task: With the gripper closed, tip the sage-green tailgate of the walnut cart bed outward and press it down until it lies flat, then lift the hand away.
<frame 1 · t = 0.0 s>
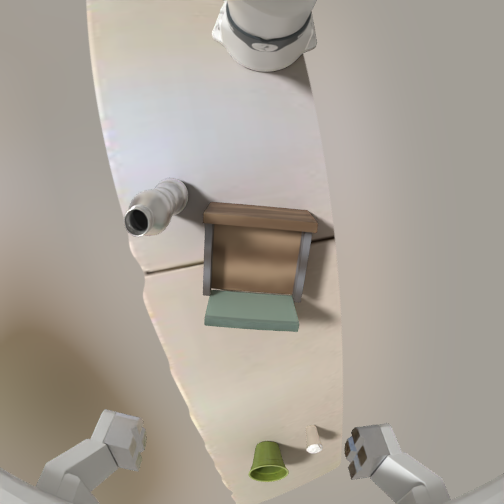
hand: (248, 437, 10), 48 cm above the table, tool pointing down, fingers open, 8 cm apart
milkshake: (311, 426, 78), on the table
cart bed: (255, 247, 58), on the table
plastic bottle: (174, 194, 54), on the table
plant pot: (267, 445, 82), on the table
tailgate: (251, 309, 54), point 8 cm above the table, hinge at 0.0°
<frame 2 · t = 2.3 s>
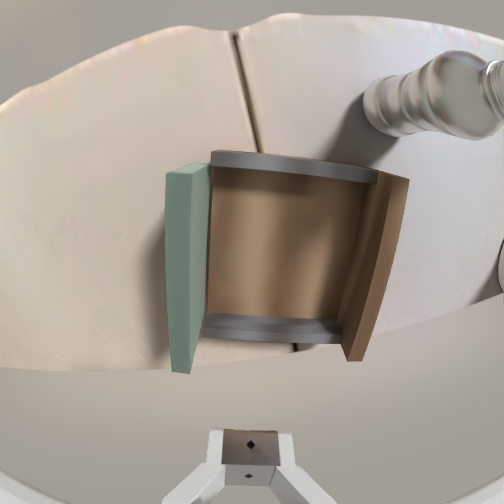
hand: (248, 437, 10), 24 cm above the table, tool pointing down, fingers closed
cart bed: (287, 240, 33), on the table
plastic bottle: (383, 108, 28), on the table
tailgate: (189, 262, 25), point 8 cm above the table, hinge at 0.0°
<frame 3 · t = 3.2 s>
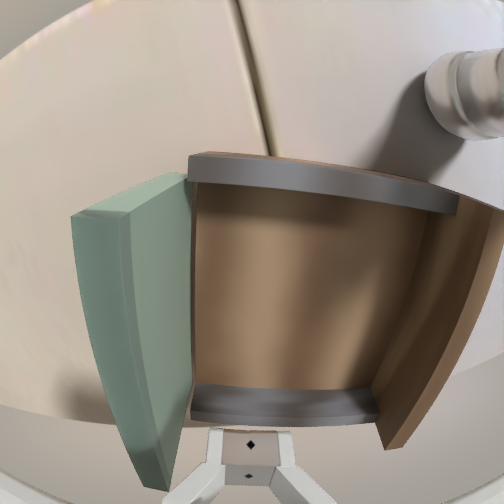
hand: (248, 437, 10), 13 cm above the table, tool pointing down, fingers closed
cart bed: (310, 286, 22), on the table
plastic bottle: (446, 98, 17), on the table
tailgate: (158, 342, 14), point 8 cm above the table, hinge at 0.0°
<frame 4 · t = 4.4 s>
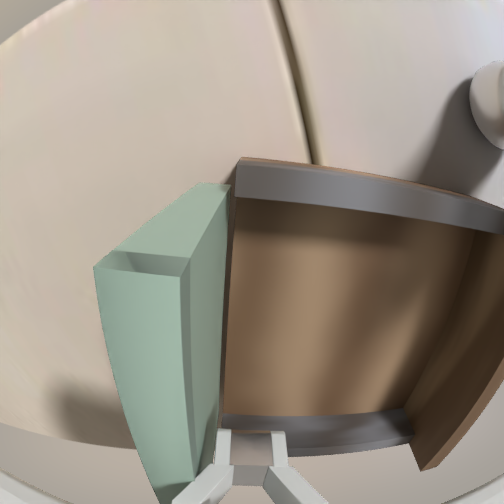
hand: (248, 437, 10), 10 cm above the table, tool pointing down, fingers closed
cart bed: (348, 308, 20), on the table
plastic bottle: (487, 107, 15), on the table
tailgate: (194, 388, 12), point 8 cm above the table, hinge at 1.0°, touching gripper
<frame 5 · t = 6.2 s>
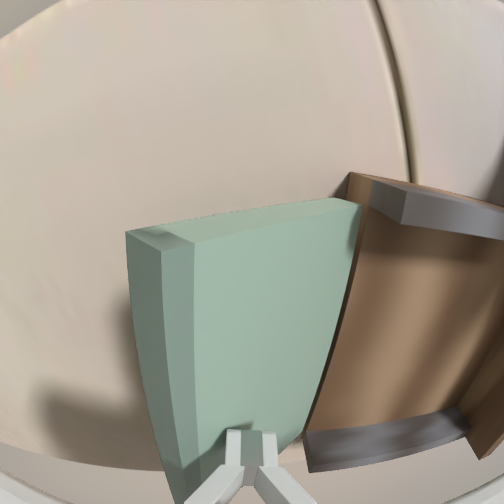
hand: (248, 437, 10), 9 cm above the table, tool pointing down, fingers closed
cart bed: (423, 317, 19), on the table
tailgate: (259, 390, 12), point 6 cm above the table, hinge at 43.7°, touching gripper
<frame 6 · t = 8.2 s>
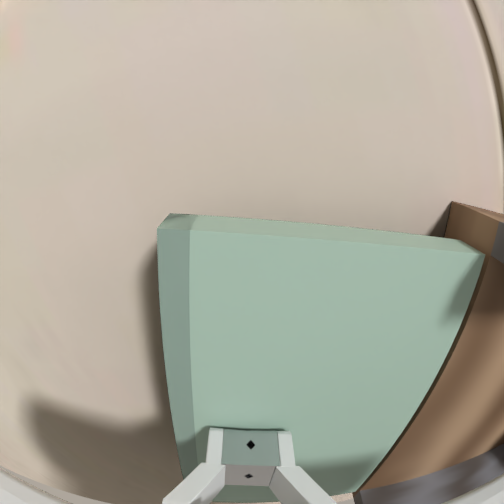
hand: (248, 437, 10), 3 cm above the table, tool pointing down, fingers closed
cart bed: (491, 361, 14), on the table
tailgate: (301, 420, 11), point 2 cm above the table, hinge at 87.6°
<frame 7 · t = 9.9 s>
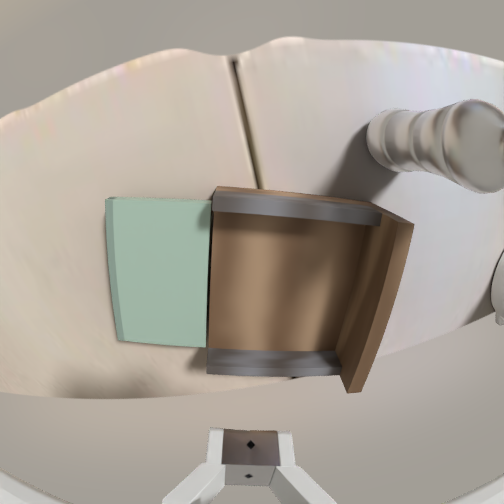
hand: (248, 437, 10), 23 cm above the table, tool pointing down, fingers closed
cart bed: (287, 276, 33), on the table
plastic bottle: (386, 139, 28), on the table
tailgate: (158, 277, 29), point 2 cm above the table, hinge at 87.6°
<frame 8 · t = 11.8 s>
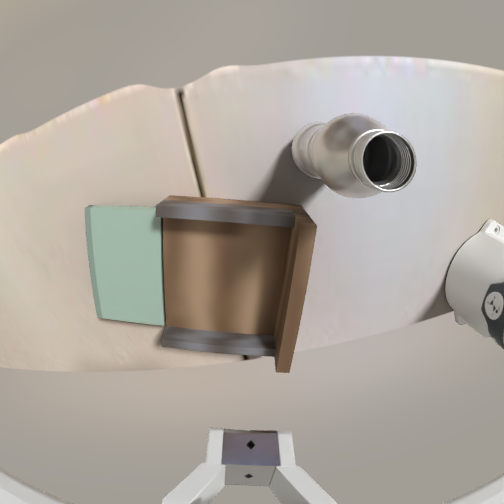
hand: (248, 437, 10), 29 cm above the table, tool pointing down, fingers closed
cart bed: (230, 269, 39), on the table
plastic bottle: (316, 149, 34), on the table
tailgate: (125, 267, 36), point 2 cm above the table, hinge at 87.6°
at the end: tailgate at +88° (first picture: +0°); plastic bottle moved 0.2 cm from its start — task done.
